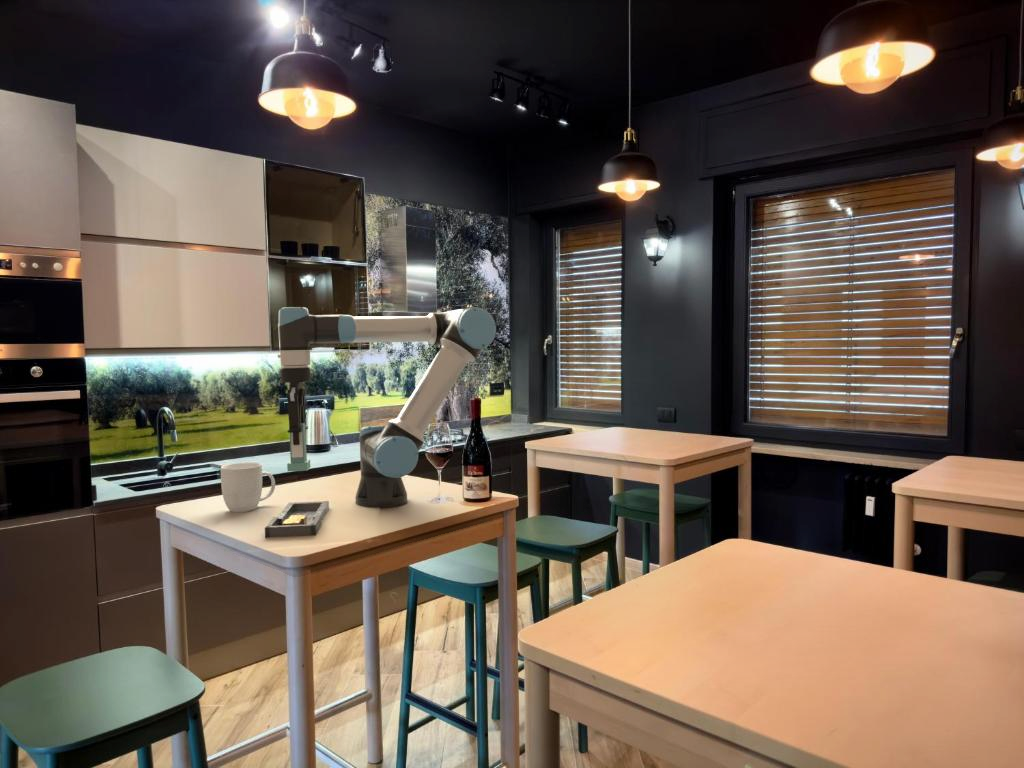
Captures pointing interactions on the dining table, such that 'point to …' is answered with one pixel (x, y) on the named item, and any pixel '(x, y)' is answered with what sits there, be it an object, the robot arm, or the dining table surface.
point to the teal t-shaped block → (299, 462)
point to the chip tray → (292, 528)
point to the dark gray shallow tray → (304, 510)
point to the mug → (243, 485)
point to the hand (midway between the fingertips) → (299, 455)
